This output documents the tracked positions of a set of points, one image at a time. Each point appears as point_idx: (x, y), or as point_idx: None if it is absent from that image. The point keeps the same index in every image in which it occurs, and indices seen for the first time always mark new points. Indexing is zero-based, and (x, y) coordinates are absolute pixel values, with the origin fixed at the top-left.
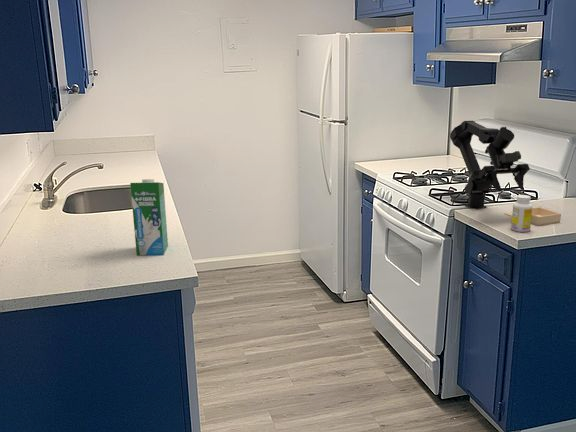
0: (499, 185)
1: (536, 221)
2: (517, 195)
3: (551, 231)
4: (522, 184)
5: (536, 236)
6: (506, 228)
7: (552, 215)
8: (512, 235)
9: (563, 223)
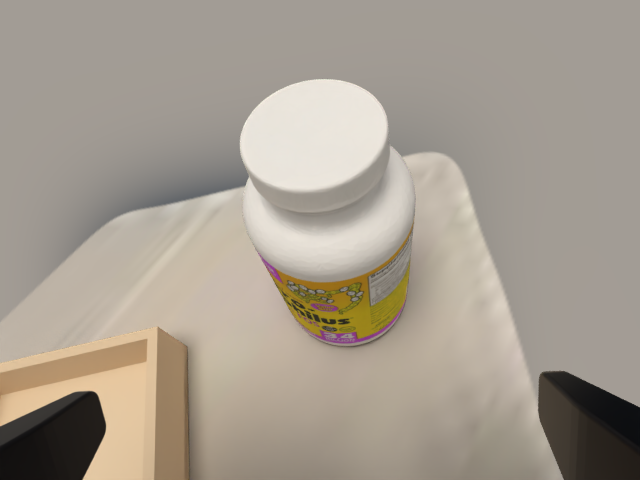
0: (617, 417)
1: (175, 357)
2: (360, 168)
3: (194, 239)
4: (12, 426)
5: None
6: (425, 337)
7: (31, 356)
8: (450, 206)
9: None
